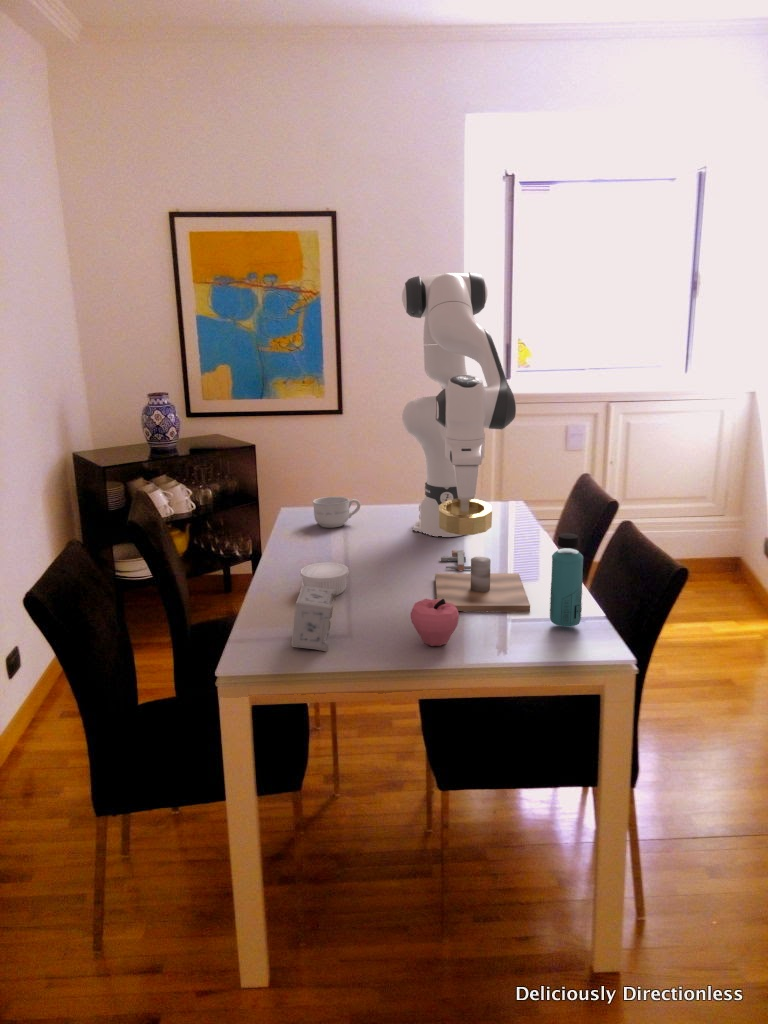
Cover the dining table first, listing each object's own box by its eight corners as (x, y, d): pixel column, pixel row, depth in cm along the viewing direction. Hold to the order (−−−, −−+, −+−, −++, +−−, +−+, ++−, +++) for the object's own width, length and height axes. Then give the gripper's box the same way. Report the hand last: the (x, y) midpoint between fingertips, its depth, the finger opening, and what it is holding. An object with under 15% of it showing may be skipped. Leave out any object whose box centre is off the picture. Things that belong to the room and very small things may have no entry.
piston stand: (435, 579, 195) (435, 546, 193) (518, 579, 194) (519, 545, 192) (437, 612, 176) (437, 575, 174) (530, 611, 175) (531, 575, 173)
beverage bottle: (575, 636, 163) (580, 541, 157) (544, 629, 166) (547, 537, 161) (584, 624, 168) (589, 532, 163) (553, 618, 172) (557, 528, 166)
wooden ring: (438, 514, 187) (438, 498, 185) (489, 514, 186) (489, 498, 185) (439, 534, 176) (439, 517, 174) (492, 534, 175) (493, 517, 174)
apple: (455, 633, 165) (456, 588, 162) (461, 652, 157) (462, 604, 154) (409, 635, 165) (408, 589, 162) (412, 654, 156) (412, 606, 154)
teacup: (311, 530, 236) (310, 504, 233) (316, 520, 246) (315, 494, 244) (359, 530, 235) (358, 503, 233) (361, 519, 245) (361, 494, 243)
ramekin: (296, 586, 193) (295, 565, 191) (341, 579, 196) (340, 559, 195) (307, 602, 183) (306, 580, 181) (354, 595, 186) (354, 574, 185)
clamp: (440, 549, 212) (479, 549, 211) (440, 557, 212) (479, 557, 212) (440, 569, 197) (481, 569, 196) (440, 577, 198) (481, 578, 197)
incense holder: (333, 652, 158) (331, 603, 155) (291, 652, 158) (288, 603, 155) (338, 631, 167) (336, 584, 164) (298, 631, 167) (295, 584, 165)
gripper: (449, 440, 191) (449, 497, 195) (452, 459, 172) (451, 521, 175) (476, 440, 191) (475, 497, 195) (482, 459, 171) (481, 521, 175)
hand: (464, 508), depth 185 cm, fingers closed on wooden ring, 2 cm apart
